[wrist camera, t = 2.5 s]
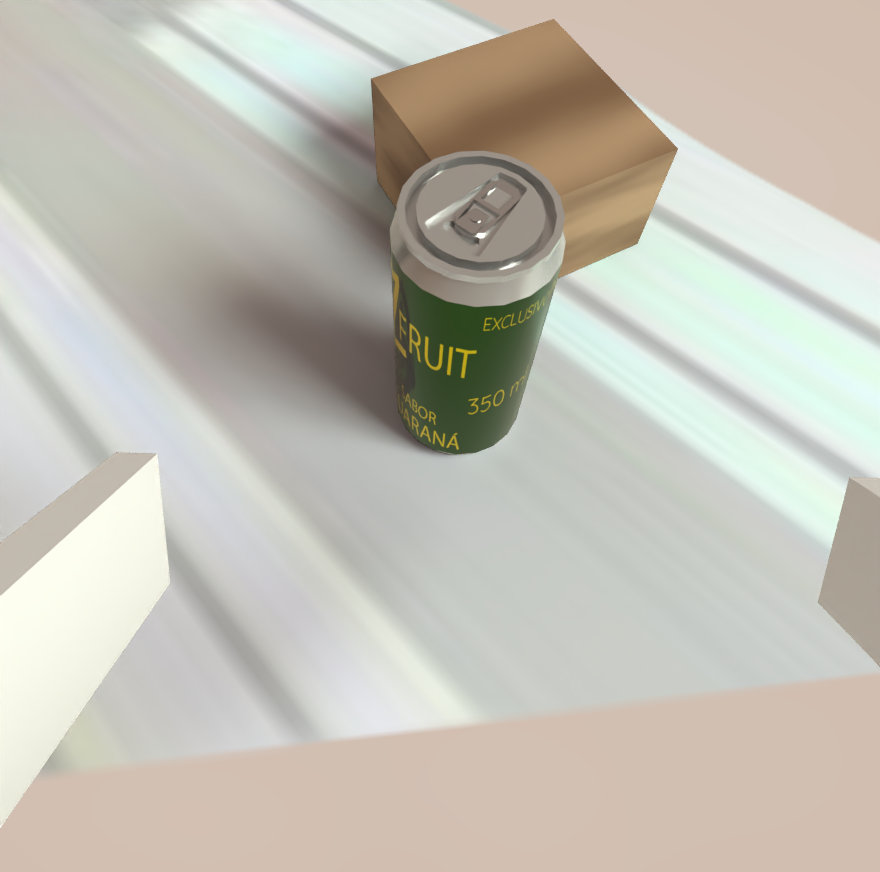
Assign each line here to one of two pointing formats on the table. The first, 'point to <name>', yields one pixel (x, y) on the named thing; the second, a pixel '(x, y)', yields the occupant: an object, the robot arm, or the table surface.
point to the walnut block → (530, 131)
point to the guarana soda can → (471, 294)
